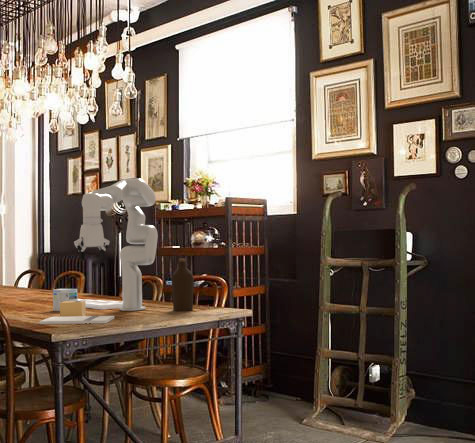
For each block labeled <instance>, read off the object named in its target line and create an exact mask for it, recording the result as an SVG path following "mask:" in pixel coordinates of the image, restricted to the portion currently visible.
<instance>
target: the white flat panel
mask: <svg viewBox="0 0 475 443" xmlns="http://www.w3.org/2000/svg"><path fill="white" fill-rule="evenodd" d="M112 320H115V315H86V316H60V315H59V316H50V317H47V318H45V319H42V320H39V325H74V324H75V325H76V324H77V325H78V324H79V325H80V324H84V325H85V323H87V324H89V323H91V324H107V323H109V322H111V321H112Z"/></svg>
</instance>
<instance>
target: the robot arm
mask: <svg viewBox="0 0 475 443" xmlns="http://www.w3.org/2000/svg"><path fill="white" fill-rule="evenodd" d="M156 197H157V196H156V193H155V191H154V190H153V189H152V188H151V186H150V185H149V184H148V183H147V182H146V181H145V180H144V179H142V178H125V179H121V180H119V181H117V182H115V183H113V184H112V185H110V186H109V185H108V186H106V187H102V188H99V189H95V190H93V191H91V192H88V193H84V194H83V196H82V200H81V207H82V222H83V223H82V224H80V226H81V227H80V231H79V238H78V239H77V240H75V241H73V243H74V246H75V249H76V250H77V251H78V252H79V260H80V261H81V262H84V261H86V251H85V250H86V249H87V248H98V249H99V252H98V254H99V257H98V258H99V260H100V261H105V258H106V250H107V248H108V247H109V245H110V240H109V239H107V238H105V235H104V228H103V224H101V223H103V219H102V218H101V212H104V211H109V210H111V209H112V208H113V206H114V205H115V204H116V203H120V202H121V201H122V202H123V204H124V208H125V209H126V211H127V215H128V216H127V217H128V218H127V225H126V226H127V227H126V232H125V233H126V235H125V240H126V243H129V245H127V246H124V247H123V248H121V250H120V251H119V259H120V264H121V272H122V273H121V274H122V275H121V278H122V281H121V284H122V301H123V307H120V308H119V310H120V311H123V312H124V311H127V312H133V311H143V310H144V311H145V310H146V306H144V305H143V280H142V278H143V275H142V272H141V269H140V268H139V266H149V265H153V263H154V262H155V259H156V253H157V252H156V251H157V247H158V246H157V245H158V237H159V236H158V230H157V228H156V227H155V226H154V225H151V224H146V215H145V213H144V212H143V210H142V209H141V208H143V207H151V206H154V205H155V203H156V200H157V198H156ZM140 207H141V208H140Z"/></svg>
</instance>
